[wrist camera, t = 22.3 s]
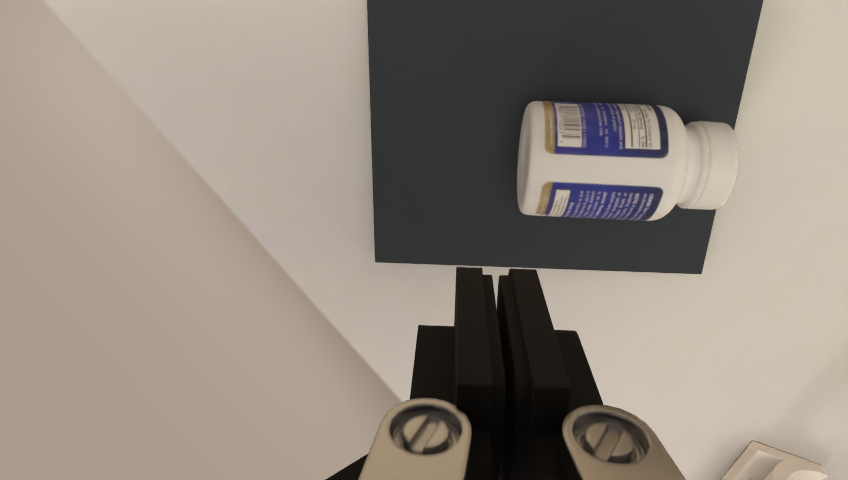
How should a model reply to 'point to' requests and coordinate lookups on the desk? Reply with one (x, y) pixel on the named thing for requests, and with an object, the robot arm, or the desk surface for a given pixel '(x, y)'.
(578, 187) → the pill bottle
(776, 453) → the headphone stand
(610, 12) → the mat
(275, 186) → the desk surface
